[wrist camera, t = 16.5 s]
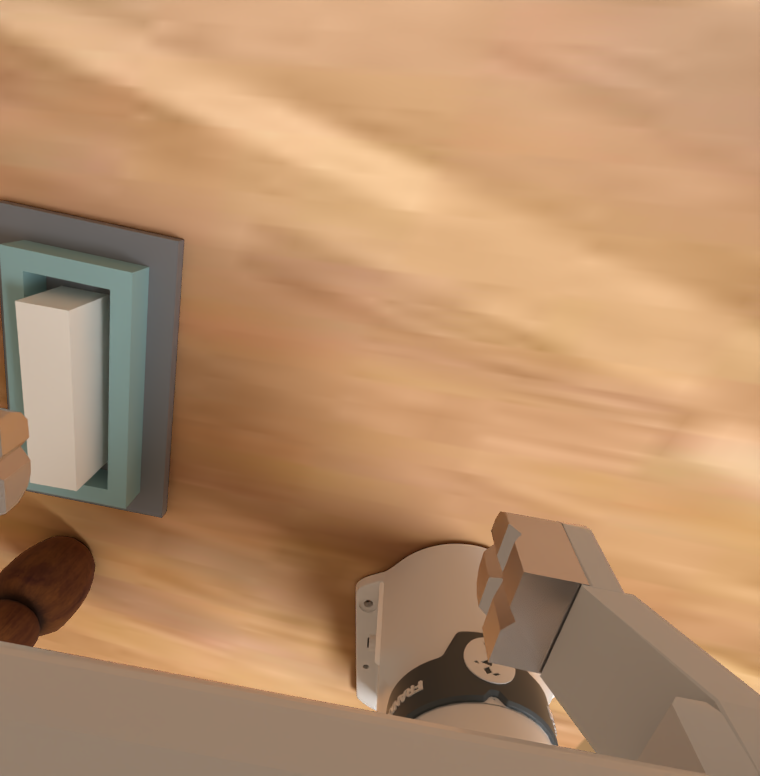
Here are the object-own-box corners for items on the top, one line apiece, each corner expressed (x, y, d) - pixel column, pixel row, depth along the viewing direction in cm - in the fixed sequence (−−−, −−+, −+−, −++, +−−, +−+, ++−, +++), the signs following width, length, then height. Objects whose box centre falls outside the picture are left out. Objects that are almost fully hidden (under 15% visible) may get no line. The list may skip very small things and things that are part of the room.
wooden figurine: (118, 570, 50) (8, 722, 36) (71, 589, 51) (-54, 743, 37) (74, 515, 48) (-61, 655, 34) (25, 536, 49) (-125, 679, 35)
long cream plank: (111, 458, 44) (76, 491, 40) (69, 450, 44) (30, 482, 40) (109, 294, 39) (68, 310, 34) (61, 285, 39) (15, 300, 34)
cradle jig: (166, 511, 47) (148, 535, 44) (20, 481, 47) (-8, 504, 44) (184, 239, 38) (163, 245, 35) (3, 200, 38) (-34, 202, 35)
